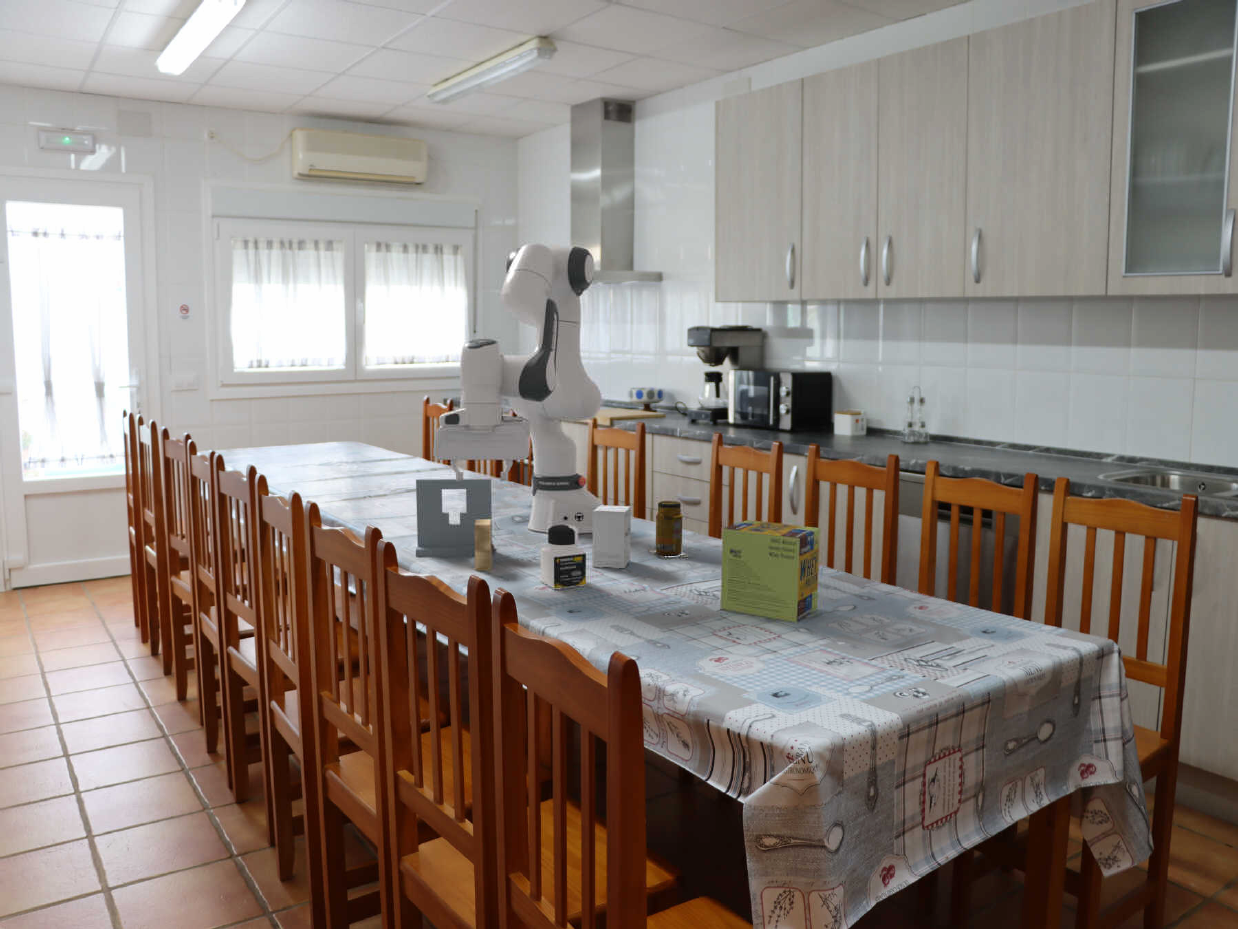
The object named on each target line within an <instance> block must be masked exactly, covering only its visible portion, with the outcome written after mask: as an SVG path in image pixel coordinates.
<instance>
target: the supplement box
mask: <svg viewBox="0 0 1238 929" xmlns="http://www.w3.org/2000/svg"><path fill="white" fill-rule="evenodd" d="M631 511H632V507H631V506H629V505H604V506H599V507H598V508H596V509H595V510H594V511H593V533H592V567H594V568H603V567H613V568H612V569H619V568H624V569H625V568H626V566H627V565H628V564H629V563H630V561H631V535H632V534H631V533H632V532H631V527H632V526H631V525H632V524H631V522H632V521H631V518H632V513H631Z"/></svg>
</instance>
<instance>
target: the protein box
mask: <svg viewBox="0 0 1238 929" xmlns="http://www.w3.org/2000/svg"><path fill="white" fill-rule="evenodd" d="M820 532H821V528H819V527H812V526H802V525H795V524H786V523H779V522H767V521H758V520H751V519H750V520H749V519H746V520H744V521H741V522H738V523H735V524H732V525H729V526H726V527H724V528H722V539H721V540H722V541H721V542H722V545H721V549H722V550H721V582H720V584H721V585H720V586H721V588H720V609H721V610H724V609H725V611H730V612H735V611H736V612H735V613H742V614H747V615H752V616H757V617H763V618H768V619H775V620H779V619H780V621H786V622H791V623H798V622H799V621H800V620H802V619H804V618H806V617H807V616H809V615H810V614H811V613H813V612H815V611H817V610H818V596H819V594H818V593H819V567H820V566H819V565H820V564H819V563H820V562H819V560H820V557H819V556H820V534H821V533H820Z"/></svg>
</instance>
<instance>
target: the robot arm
mask: <svg viewBox="0 0 1238 929" xmlns="http://www.w3.org/2000/svg"><path fill="white" fill-rule="evenodd" d="M594 261H595V260H594V258H593V255H592V254H591V252H590V251H589V250H588V249H587V248H584V247H580V246H573V247H571V246H563V245H549V246H547V245H544V244H541V243H537V242H531V243H527V244H525V245H523V246H521V247H519V248H515V249H514V250H513V251H511V253H509V255H508V257H507V260H506V264H505V265H506V268H505V269H506V276H505V278H504V281H503V284H502V289H501V296H500V298H501V302H502V304H503V307H504V309H505V310H506V311H507V313H508V314H509V315H510V316H511V317H512V318H514V319H516V320H517V321H518V322H521V323H523V324H526V325H528V326H532V327H533V328H536V336H535V337H536V338H535V346H534V347H535V348H534V351H533V352H531V353H529V354H525V355H524V354H523V355H520V354H519V355H517V354H516V355H515V354H514V355H513V354H503V353H502V352H501V349H500V344H499V342H498V341H497V340H494V339H490V338H478V339H472V340H469V341H466V342H465V343H464V344H463V345H462V349H461V354H460V362H459V363H460V364H459V365H460V366H459V382H460V383H459V384H460V386H461V397H460V401H459V402H460V404H459V405H460V406H459V408H458V409H453V410H451V411H448V412H444V413H442V414H441V415H440V416H439V417H438V418H439V420H438V421H439V422H438V423H439V427H438V428H437V429H436V431H435V434H434V440H433V457H434V458H435V459H436V460H437V461H450V466H451V468H452V470H453V471H454V473H455V479H456V481H463V479H465V478H464V471H460V469H459V468H458V466H457V465H458V464H459V461H468V460H469V461H474V460H475V461H477V460H478V461H482V460H483V461H490V460H491V461H499V460H500V461H505V465H506V468H505V470H504V471H500V482H503V481H505V482H508V478H509V476H508V474H509V471H510V470H511V469H512V466H513V461H524V460H526V459H527V458H528V457H529V456H530V447H529V440H528V438H529V437H530V441H531V445H532V458H533V459H532V460H533V473H532V476H531V493H532V504H531V512H530V517H529V521H528V525H527V528H528V529H529V530H531V531H536V532H540V533H547V534H548V529H549V528H550V527H552V526H555V525H571V526H574V527H576V528H577V529H578V534H591V533H592V534H593V511H594V510H595V509H596V508H598V507H599V506H605V505H604V503H603V501H601V500H600V499H599V498H598V497H596V496H595V494H593V493H591V492H590V491H589V490H588V489H586V488H585V486H586V484H587V479H586V477H585V476H584V475H582V474H580V473H577V445H576V443H575V440H574V439H572V438H571V437H570V436H568V435H567V434H566V433H565V432H564V431H563V429H562V427H561V424H560V421H563V422H564V421H565V422H580V421H581V422H582V421H586V420H591V419H593V418H595V417H596V416H597V415H598V413H599V411H600V409H601V407H602V403H603V402H602V401H603V400H602V393H601V390H600V388H599V387H598V385H597V384H596V383H595V381H593V379H591V378H590V376H589V375H588V374H587V370H585V367H584V365H583V361H582V357H581V326H582V310H581V309H582V308H581V306H582V305H581V296H582V295H583V294H584V292H585V291H586V290H588V288H589V287H590V285H592V282H594V281H593V280H594V278H595V277H594V276H595V271H596V270H595V269H596V268H595V262H594ZM504 399H505V400H509V405H510V408H511V410H512V412H513V413H514V414H516V415H517V416H509V415H507V416H503V400H504Z"/></svg>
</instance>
